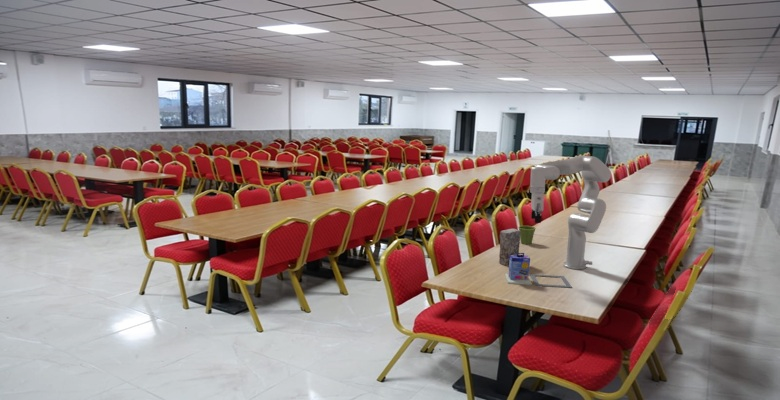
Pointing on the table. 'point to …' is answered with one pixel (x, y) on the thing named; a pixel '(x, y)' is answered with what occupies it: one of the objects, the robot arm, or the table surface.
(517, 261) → the ink cartridge box
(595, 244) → the table surface
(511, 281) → the sage board
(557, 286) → the marked spot frame
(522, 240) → the plant pot
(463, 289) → the table surface
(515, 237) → the stone block
